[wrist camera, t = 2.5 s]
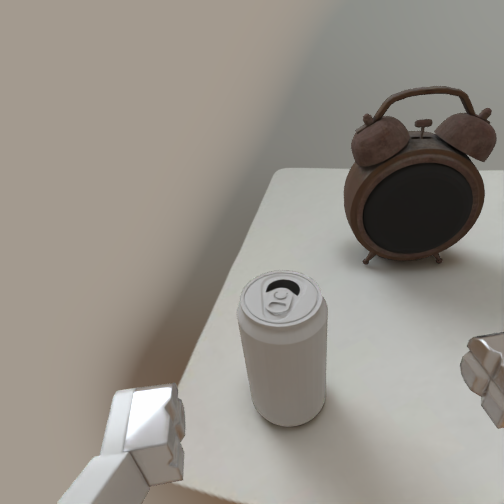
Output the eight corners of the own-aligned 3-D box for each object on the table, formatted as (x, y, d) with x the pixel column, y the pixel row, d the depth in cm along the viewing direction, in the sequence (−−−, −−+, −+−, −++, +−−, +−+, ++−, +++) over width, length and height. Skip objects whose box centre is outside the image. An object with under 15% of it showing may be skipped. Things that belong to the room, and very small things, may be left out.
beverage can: (328, 371, 33) (332, 269, 26) (320, 440, 28) (322, 336, 21) (262, 360, 35) (249, 262, 28) (243, 423, 30) (221, 322, 23)
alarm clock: (345, 275, 44) (356, 104, 32) (339, 242, 49) (346, 87, 38) (473, 273, 42) (532, 89, 30) (450, 238, 47) (493, 74, 36)
